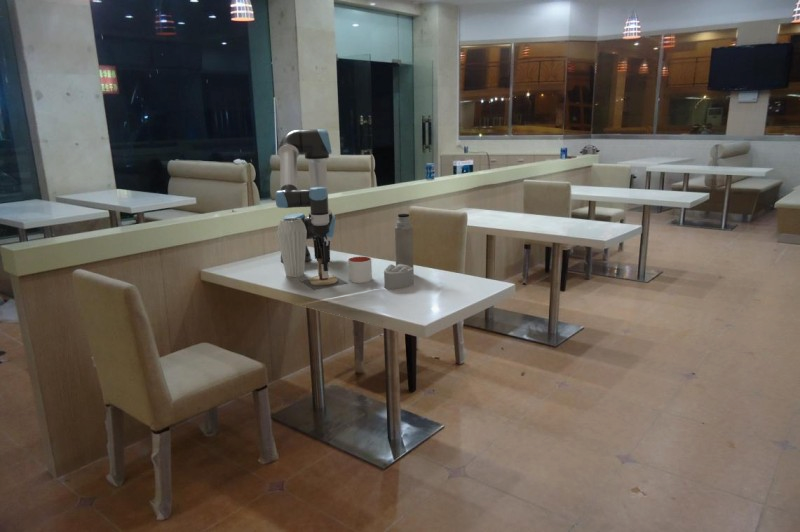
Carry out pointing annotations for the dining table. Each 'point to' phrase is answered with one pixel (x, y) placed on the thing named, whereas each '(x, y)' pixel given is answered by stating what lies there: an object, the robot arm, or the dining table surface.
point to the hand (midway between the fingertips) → (323, 276)
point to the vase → (292, 245)
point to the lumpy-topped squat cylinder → (398, 277)
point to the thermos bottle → (404, 241)
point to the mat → (307, 282)
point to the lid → (322, 281)
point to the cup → (360, 269)
